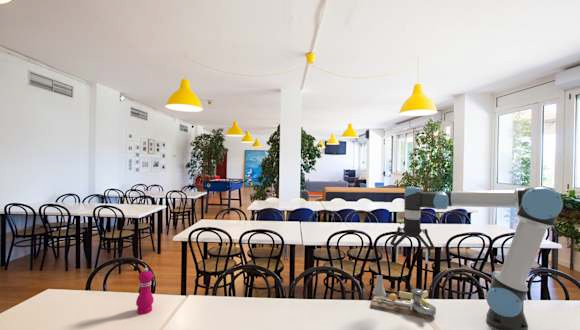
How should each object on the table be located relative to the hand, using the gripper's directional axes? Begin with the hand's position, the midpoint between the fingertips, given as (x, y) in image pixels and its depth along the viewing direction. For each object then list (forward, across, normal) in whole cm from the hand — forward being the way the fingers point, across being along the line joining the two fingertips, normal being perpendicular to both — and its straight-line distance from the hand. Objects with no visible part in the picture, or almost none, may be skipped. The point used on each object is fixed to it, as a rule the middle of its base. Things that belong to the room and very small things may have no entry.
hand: (411, 261), depth 147 cm
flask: (+23, -16, +10) cm, 29 cm away
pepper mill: (+22, -117, -52) cm, 130 cm away
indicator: (+21, -5, -3) cm, 22 cm away
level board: (+23, -5, -3) cm, 24 cm away
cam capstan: (+21, +4, -2) cm, 22 cm away
